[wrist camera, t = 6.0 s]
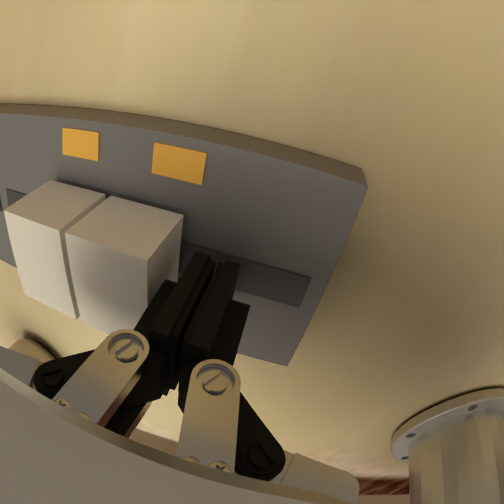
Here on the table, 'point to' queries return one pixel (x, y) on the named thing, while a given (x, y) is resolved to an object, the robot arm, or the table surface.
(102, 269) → the slider
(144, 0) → the table surface
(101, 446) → the robot arm
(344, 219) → the switch deck
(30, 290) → the slider
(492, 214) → the table surface
